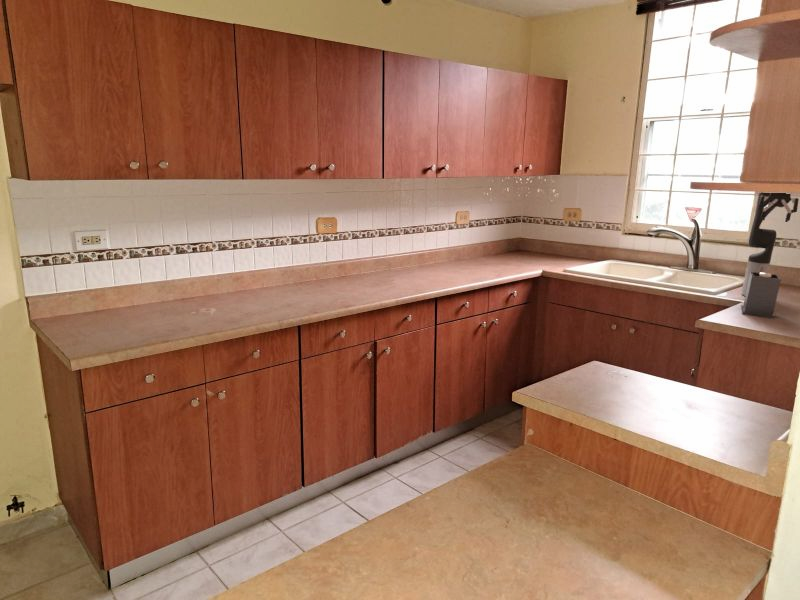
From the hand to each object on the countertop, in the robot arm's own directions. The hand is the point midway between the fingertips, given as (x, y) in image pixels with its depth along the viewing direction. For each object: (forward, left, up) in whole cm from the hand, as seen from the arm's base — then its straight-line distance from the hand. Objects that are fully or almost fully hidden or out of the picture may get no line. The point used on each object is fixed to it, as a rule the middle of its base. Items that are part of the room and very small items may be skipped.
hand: (774, 220), depth 252 cm
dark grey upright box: (+8, 0, -40) cm, 41 cm away
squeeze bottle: (-12, 0, -40) cm, 42 cm away
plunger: (+8, 0, -39) cm, 39 cm away
